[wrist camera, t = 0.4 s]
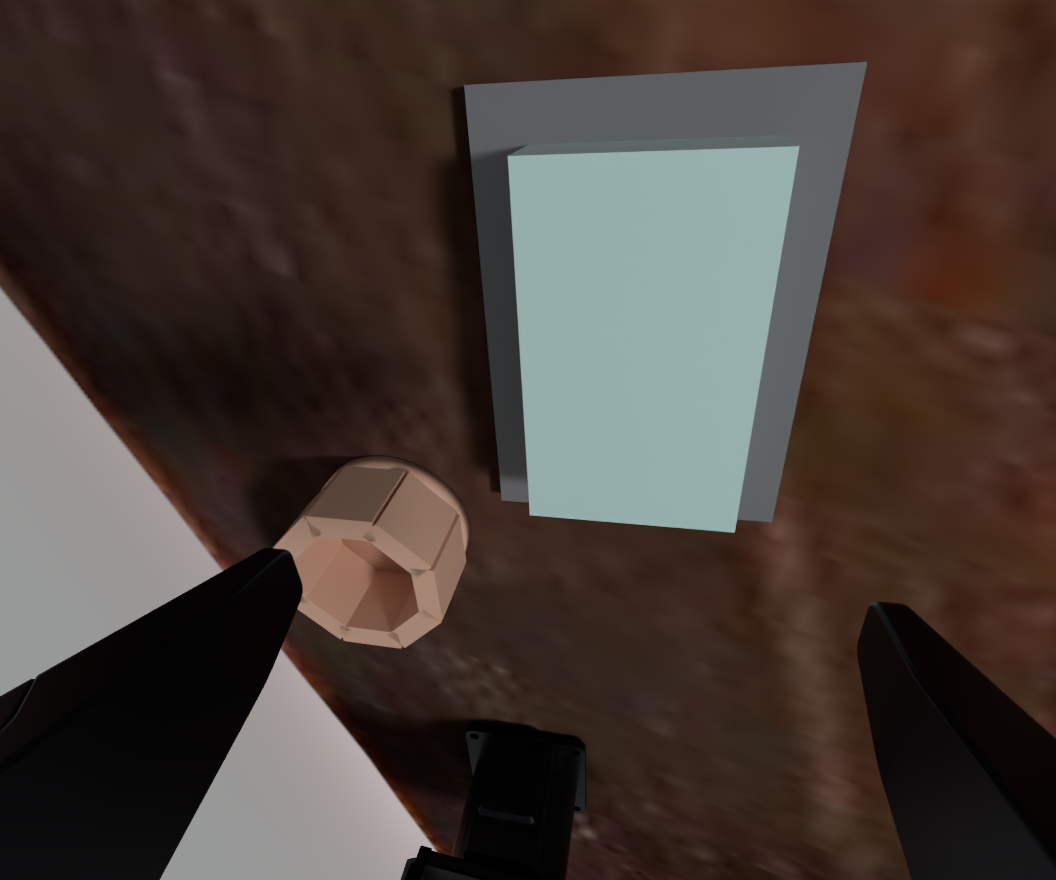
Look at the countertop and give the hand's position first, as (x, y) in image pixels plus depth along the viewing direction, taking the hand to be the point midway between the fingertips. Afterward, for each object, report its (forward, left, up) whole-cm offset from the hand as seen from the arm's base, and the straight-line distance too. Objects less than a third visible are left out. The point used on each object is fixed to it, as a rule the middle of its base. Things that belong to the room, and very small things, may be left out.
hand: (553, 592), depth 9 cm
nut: (-9, +9, -12) cm, 18 cm away
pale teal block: (0, -1, -12) cm, 12 cm away
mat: (0, -1, -12) cm, 12 cm away
